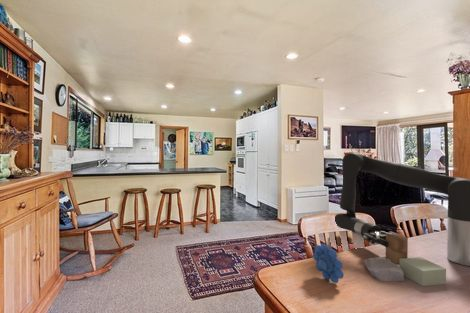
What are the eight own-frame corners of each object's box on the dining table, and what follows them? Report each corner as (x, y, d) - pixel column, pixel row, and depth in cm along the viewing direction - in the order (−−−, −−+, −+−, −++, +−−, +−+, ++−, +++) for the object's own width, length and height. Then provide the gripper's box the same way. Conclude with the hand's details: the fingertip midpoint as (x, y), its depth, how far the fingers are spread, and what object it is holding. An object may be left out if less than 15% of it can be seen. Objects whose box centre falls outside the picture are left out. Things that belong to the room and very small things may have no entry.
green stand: (420, 270, 87) (420, 257, 87) (445, 283, 78) (446, 268, 78) (399, 272, 86) (399, 258, 86) (422, 286, 77) (423, 271, 77)
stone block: (377, 286, 80) (408, 282, 79) (374, 272, 80) (404, 268, 80) (362, 270, 92) (388, 266, 91) (359, 258, 92) (385, 254, 91)
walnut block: (396, 258, 95) (396, 233, 95) (407, 263, 90) (407, 237, 90) (385, 258, 95) (385, 234, 94) (395, 264, 90) (396, 238, 90)
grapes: (305, 275, 84) (305, 242, 83) (317, 270, 87) (317, 238, 87) (335, 292, 74) (335, 254, 74) (347, 285, 78) (347, 249, 77)
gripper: (353, 223, 107) (381, 235, 91) (381, 221, 109) (413, 233, 93) (353, 239, 107) (381, 254, 91) (381, 237, 109) (412, 252, 93)
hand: (397, 244), depth 92 cm, fingers open, 8 cm apart
